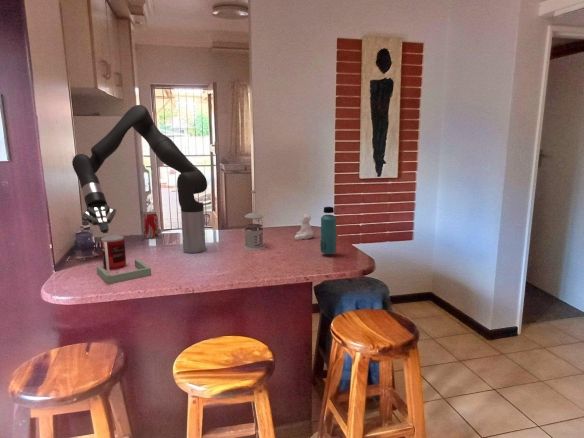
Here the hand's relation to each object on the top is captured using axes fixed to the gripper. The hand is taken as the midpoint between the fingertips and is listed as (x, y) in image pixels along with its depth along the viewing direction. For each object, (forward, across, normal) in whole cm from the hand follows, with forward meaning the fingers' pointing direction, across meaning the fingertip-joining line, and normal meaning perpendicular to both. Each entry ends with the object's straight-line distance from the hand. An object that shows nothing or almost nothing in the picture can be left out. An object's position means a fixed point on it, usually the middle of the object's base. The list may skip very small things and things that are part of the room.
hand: (105, 232), depth 160 cm
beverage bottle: (+43, -72, +27) cm, 88 cm away
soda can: (-9, -26, -26) cm, 38 cm away
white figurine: (+24, -83, +7) cm, 86 cm away
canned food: (+15, 0, -1) cm, 15 cm away
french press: (+22, -56, +6) cm, 61 cm away
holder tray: (+23, 0, +7) cm, 24 cm away
